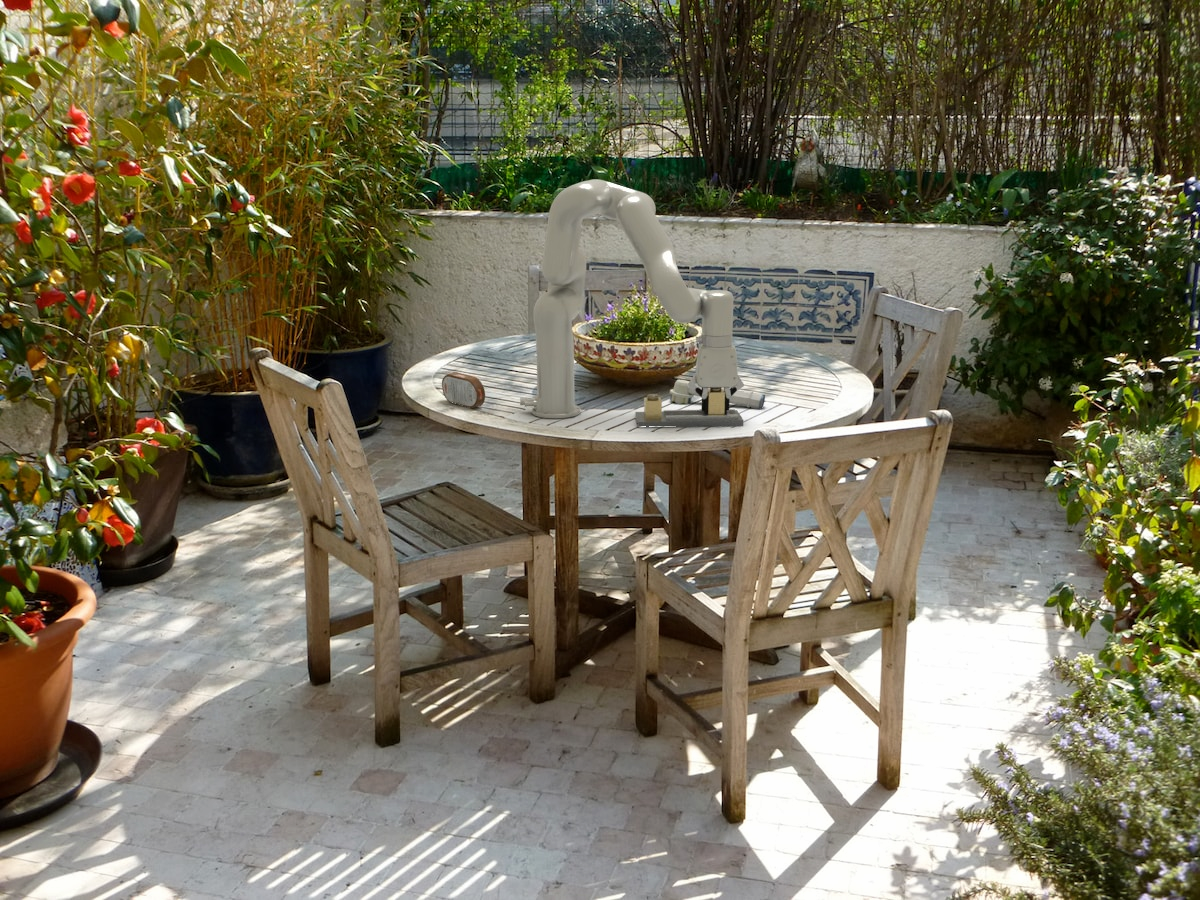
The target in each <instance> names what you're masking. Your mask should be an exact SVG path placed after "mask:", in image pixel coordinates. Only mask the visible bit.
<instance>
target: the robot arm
mask: <svg viewBox="0 0 1200 900" xmlns="http://www.w3.org/2000/svg"><path fill="white" fill-rule="evenodd" d="M656 211H657V210H656V204H655V202H654V200H653V198H652V197H651V196H650V195H648V194H647V193H645V192H642V191H639V190H636V189H633V188H629V187H626V186H622V185H619V184H617V183H613V182H610V181H606V180H603V179H597V178H596V179H589V180H584V181H580V182H578V183H575V184H572V185H569V186H567V187H566V188H564V189H563V190H561V191H560V192H559V193H558V194H557V195H555V198H554V199H553V201H552V202H551V206H550V208H549V212H548V218H547V219H548V220H547V227H546V234H545V242H544V249H543V257H542V261H541V262H542V263H541V272H542V276H543V277H544V280H545V281H546V282H547V291H546V292H544V293H543V294H542V295H540V296H539V298H537V300H536V302H535V304H534V307H533V313H532V314H533V322H534V323H533V324H534V332H535V345H536V346H535V347H536V348H535V350H536V386H537V387H536V390H537V393H536V394H535V396H532V397H520V398H519V405H520V406H524V407H532V408H531V414H532V415H533V416H536V417H538V418H545V419H567V418H572V417H576V416H579V414H581V411H582V409H581V407H580V406H579V405H576V404H575V351H574V350H575V348H574V347H575V344H574V343H575V342H574V332H573V325H572V323H573V322H572V321H573V320H575V319H576V318H577V317H578V315H579V313H580V312H581V310H582V306H583V299H584V292H585V291H584V290H585V284H586V283H585V282H586V274H587V259H586V255H585V254H584V252H583V251H582V250H581V248H580V242H581V236H582V235H581V234H582V223H583V221H584V219H585V218H589V217H594V216H597V215H599V216H603V217H606V218H608V219H613V220H615V221H618V223H619V226H620V227H621V229H622V230H623V232H624V234H625V235H626V237H627V239H628V241H629V242H630V243H631V245H632V247H633V249H634V251H635V252H636V254H637V256H638V257H639V260H640V261H641V263H642V264H643V267H644V270H645V273H646V275H647V278H648V279H649V280H648V281H649V282H650V284H651V288H652V289H653V291H654V294H656V297H657V299H658V300H659V302H660V303H661V305H662V307H663V308H664V310H665V312H666V313H667V315H668V317H669V318H670V319H671V320H673V321H674V322H675V323H678V324H684V325H685V324H689V323H691V322H693V321H694V320H695V319H696V318H698V317H699V318H700V317H701V333H700V334H701V335H699V336H696V337H695V343H700V344H701V345H698V349H697V354H696V361H695V364H696V365H695V373H694V375H692V377H691V379H690V381H689V383H688V387H689V388H691V389H692V390H694V391H695V392H697V393H698V394H699V395H700V396H701V410H702V411H704V413H705V415H707V414H708V398H707V393H708V388H724V392H725V410H724V414H727V410H729V409H730V403H729V400H730V398H731V396H732V395H733V394H734V393H735V392H736V391H737V390H739V391H740V390H741V389H742V388H744V387H745V384H744V381H742V379H741V377H740V376H739V374H738V354H737V349H736V346H735V345H733V328H734V327H733V326H734V324H733V323H734V296H733V293H732V292H731V291H728V290H726V289H725V290H724V289H711V290H708V289H707V290H706V289H699V288H694V287H688V286H687V285H686V283H685V281H684V279H683V278H682V276H681V273H680V271H679V269H678V265H677V262H676V261H677V260H676V252H675V248H674V246H673V243H672V241H671V240H670V238H669V236H668V235H667V233H666V231H665V230H664V227H663V226H662V225H661V223H660V220H659V219H658V217H657V215H656ZM695 384H697V385H698V386H699V387H702V389H700V388H699V387H697V386H696V385H695Z"/></svg>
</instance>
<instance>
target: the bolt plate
mask: <svg viewBox="0 0 1200 900" xmlns="http://www.w3.org/2000/svg"><path fill="white" fill-rule="evenodd" d="M635 417H636V418H635ZM634 418H635V421H637V422H636V424H637V423H638V425H637V427H638V426H646V427H649V426H676V427H675V428H700V427H701V428H702V427H704V428H705V427H707V428H708V427H709V428H712V427H744V422H745V421H744V419H743V417H742V415H741V414H740V413H739V411H738V409H737V410H736V409H735V408H729V410H727V414H724V415H705V413H704V411H702V409H664V410H662V419H645V416H644V411H635V412H634Z"/></svg>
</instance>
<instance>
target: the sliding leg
mask: <svg viewBox="0 0 1200 900" xmlns="http://www.w3.org/2000/svg"><path fill="white" fill-rule="evenodd" d="M707 398H708V414H707V415H724V410H725V392H724V390H723V389H721V388H710V389H708V393H707Z"/></svg>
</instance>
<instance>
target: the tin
mask: <svg viewBox="0 0 1200 900" xmlns="http://www.w3.org/2000/svg"><path fill="white" fill-rule="evenodd" d="M441 390H442V394H443V396H444V398H445V399H446V400H447V402H448V403H450V402H453V403H456V404H460V405H463V406H462V407H464V406H466V407H465V408H467V407H470V408H469V409H476V408H478V406H480V407H482V406H483V404H484V403H485V401H486V391H485V387H484V384H483V383H482V381H481V380H480V379H479V378H477V377H476V376H473V375H470V374H465V373H462V372H457V371H453V372H450V373H448V374H445V375H444V376H443V378H442V380H441ZM456 404H455V405H456ZM460 405H459V406H460Z"/></svg>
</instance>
